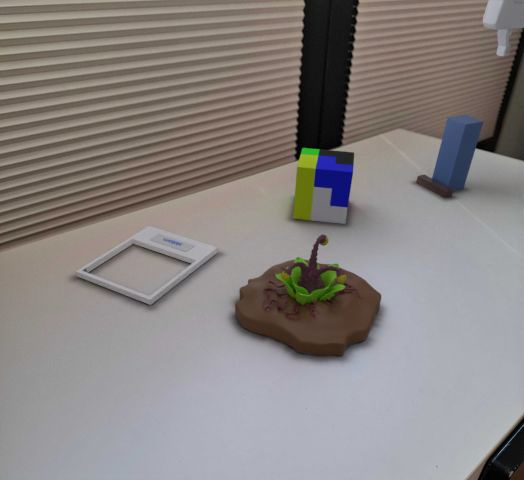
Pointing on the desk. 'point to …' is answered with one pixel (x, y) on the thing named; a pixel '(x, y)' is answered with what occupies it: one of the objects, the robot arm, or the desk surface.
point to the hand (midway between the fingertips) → (515, 54)
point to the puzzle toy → (323, 185)
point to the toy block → (457, 150)
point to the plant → (309, 305)
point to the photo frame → (159, 243)
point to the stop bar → (435, 186)
